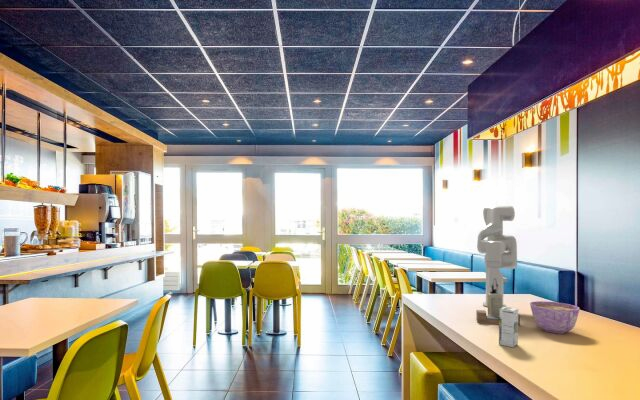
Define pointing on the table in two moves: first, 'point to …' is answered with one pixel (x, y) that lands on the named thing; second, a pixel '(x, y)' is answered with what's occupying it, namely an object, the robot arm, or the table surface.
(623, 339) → the table surface
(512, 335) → the syrup box
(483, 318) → the walnut cradle
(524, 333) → the table surface
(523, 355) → the table surface
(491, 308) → the skincare box
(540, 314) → the bowl of food
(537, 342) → the table surface
